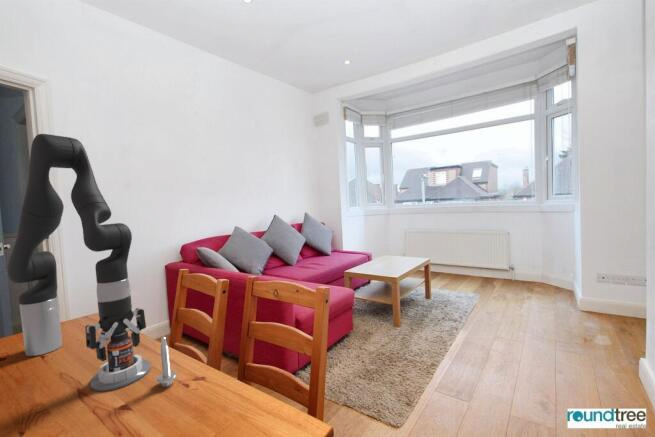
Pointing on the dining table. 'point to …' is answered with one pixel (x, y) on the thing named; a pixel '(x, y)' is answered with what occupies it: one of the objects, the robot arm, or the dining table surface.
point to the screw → (165, 366)
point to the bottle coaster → (120, 384)
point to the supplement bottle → (120, 352)
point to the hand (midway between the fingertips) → (119, 352)
